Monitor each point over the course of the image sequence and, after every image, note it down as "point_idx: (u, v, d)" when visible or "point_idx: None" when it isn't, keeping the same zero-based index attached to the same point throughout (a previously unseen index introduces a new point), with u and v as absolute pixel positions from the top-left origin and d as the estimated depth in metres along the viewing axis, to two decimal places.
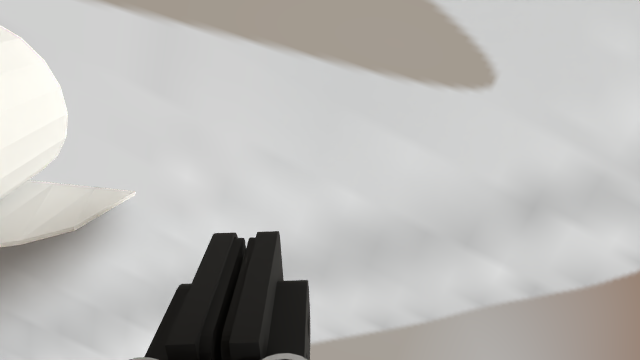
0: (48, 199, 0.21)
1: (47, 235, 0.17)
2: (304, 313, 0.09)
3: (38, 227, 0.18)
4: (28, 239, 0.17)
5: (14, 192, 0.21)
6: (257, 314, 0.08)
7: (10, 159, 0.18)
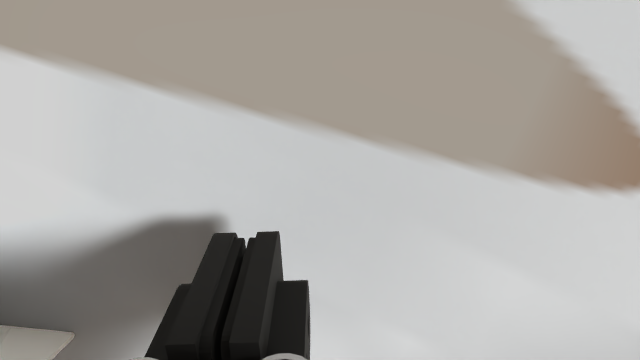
0: None
1: None
2: (304, 313, 0.09)
3: None
4: None
5: None
6: (257, 314, 0.08)
7: None
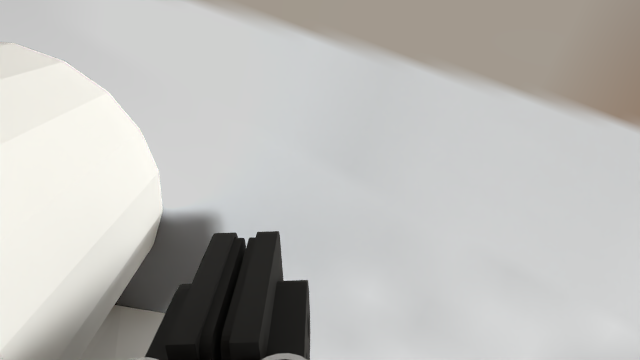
0: (121, 355, 0.13)
1: None
2: (304, 313, 0.09)
3: None
4: None
5: None
6: (257, 314, 0.08)
7: (87, 332, 0.09)
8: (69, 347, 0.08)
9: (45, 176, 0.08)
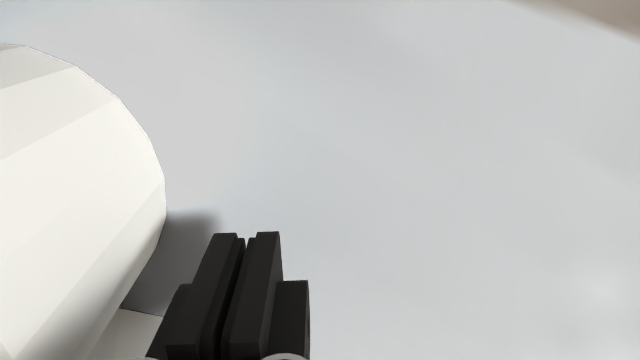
0: (120, 359, 0.13)
1: None
2: (304, 313, 0.09)
3: None
4: None
5: None
6: (257, 314, 0.08)
7: (91, 338, 0.10)
8: (75, 354, 0.09)
9: (58, 185, 0.08)
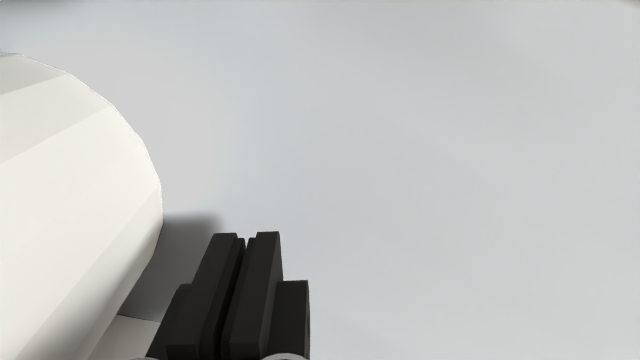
0: None
1: None
2: (304, 313, 0.09)
3: None
4: None
5: None
6: (257, 314, 0.08)
7: (87, 346, 0.09)
8: None
9: (50, 192, 0.08)
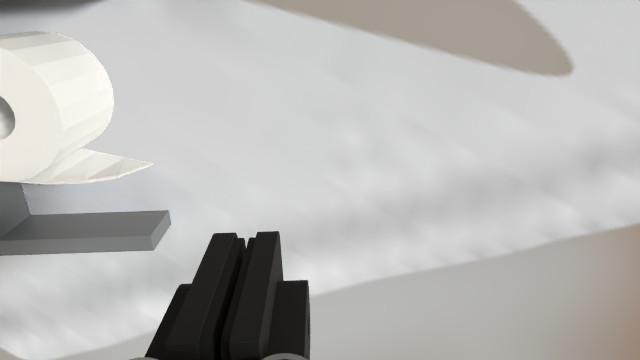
0: (95, 160, 0.31)
1: (101, 179, 0.27)
2: (304, 313, 0.09)
3: (93, 175, 0.28)
4: (89, 180, 0.27)
5: (71, 154, 0.31)
6: (257, 314, 0.08)
7: (81, 129, 0.28)
8: (76, 126, 0.27)
9: (69, 72, 0.27)
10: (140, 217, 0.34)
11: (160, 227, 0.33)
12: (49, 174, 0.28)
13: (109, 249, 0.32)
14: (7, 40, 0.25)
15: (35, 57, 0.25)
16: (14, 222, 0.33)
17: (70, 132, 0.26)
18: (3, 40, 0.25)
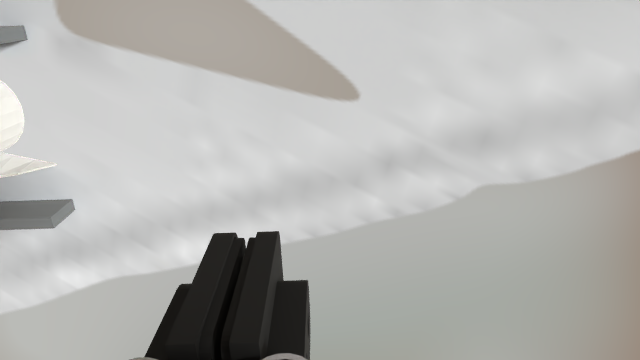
0: (9, 162, 0.42)
1: (5, 175, 0.38)
2: (304, 313, 0.09)
3: (2, 172, 0.39)
4: None
5: None
6: (257, 314, 0.08)
7: None
8: None
9: None
10: (49, 204, 0.45)
11: (62, 211, 0.44)
12: None
13: (21, 227, 0.43)
14: None
15: None
16: None
17: None
18: None
